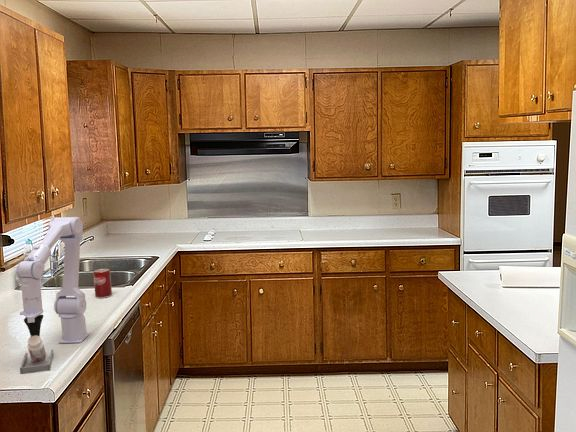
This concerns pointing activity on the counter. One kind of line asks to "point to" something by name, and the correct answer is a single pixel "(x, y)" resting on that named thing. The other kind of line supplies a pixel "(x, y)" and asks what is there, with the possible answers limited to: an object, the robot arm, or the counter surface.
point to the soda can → (102, 283)
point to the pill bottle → (36, 348)
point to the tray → (35, 365)
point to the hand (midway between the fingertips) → (35, 338)
